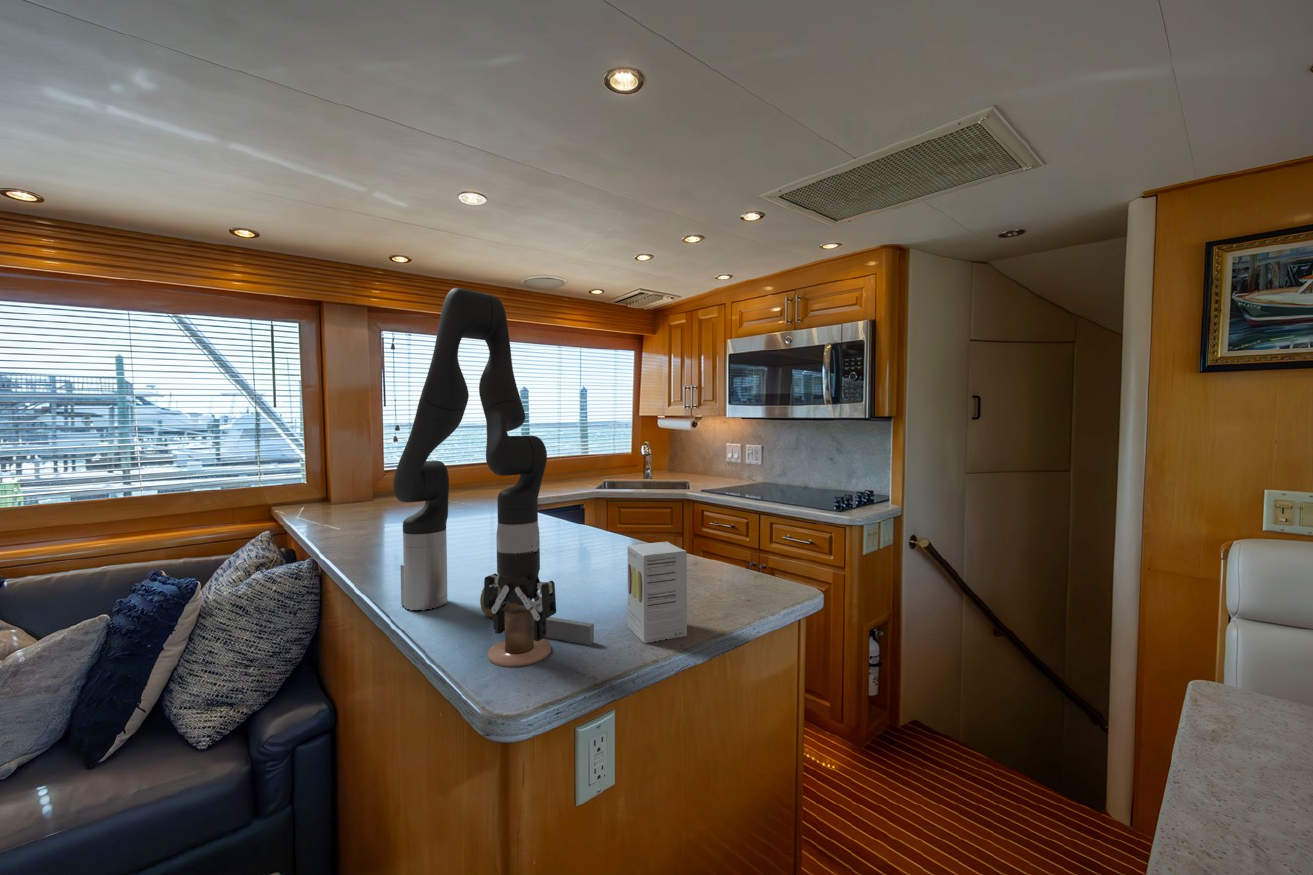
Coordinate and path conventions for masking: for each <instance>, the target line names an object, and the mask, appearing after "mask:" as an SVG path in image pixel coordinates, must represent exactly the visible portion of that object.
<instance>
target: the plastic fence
mask: <svg viewBox="0 0 1313 875" xmlns="http://www.w3.org/2000/svg"><path fill="white" fill-rule="evenodd" d="M534 620H535V618H534V617H533V636H534ZM594 629H595V625H594V623H590V622H585V621H578V620H572V619H566V618H559V617H553V616H550V617H548V618H546V635H545V636H544V638H547V639H552V640H559V641H565V642H568V643H569V642H570V643H575V644H581V645H587V646H591V645H592V644H594V643H595V630H594Z"/></svg>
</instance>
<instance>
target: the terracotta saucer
mask: <svg viewBox="0 0 1313 875" xmlns="http://www.w3.org/2000/svg"><path fill="white" fill-rule="evenodd" d="M551 652H552V644H551V642H550V641H549V640H547V639H545V638H543V639H541V640H540V641H534V648H533V649H532V650H531V651H529V652H527V653H523V654H509V653H507V652H506V651H505V639H504V640H502V641H499V642H496V643H495V644H493V645H491V647H490V648H488V651H487V659H488V661H489V662H490V663H491V664H493V665H496V666H498V667H500V666H501V667H507V668H509V667H510V668H511V667H512V668H513V667H522V666H528V665H532V664H536V663H538V662H540V661H543V660H544V659H546V658H547V657H549V655H550V654H551Z"/></svg>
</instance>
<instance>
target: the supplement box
mask: <svg viewBox="0 0 1313 875" xmlns="http://www.w3.org/2000/svg"><path fill="white" fill-rule="evenodd" d="M687 554H688V552H687V550H685V549H683V548H680V547H678V546H676V545H674V544H672V543H670V542H669V541H661V542H660V541H659V542H649V543H637V544H629V545H627V628H629V629H630V631H631V632H633V633H634V634H635V635H636V636H637V638H638V639H640V641H641V642H642V643H643V644H649V642H650V643H655V642H654V641H656V642H660V641H659V640H661V641H666V640H665V639H667V640H671V639H678V638H682V637H687V636H688V599H687V598H688V594H687V593H688V592H687V584H688V581H687V580H688V579H687V578H688V576H687V575H688V571H687V570H688V569H687V568H688V565H687V564H688V563H687V562H688V561H687V560H688V557H687V556H688V555H687Z"/></svg>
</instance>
